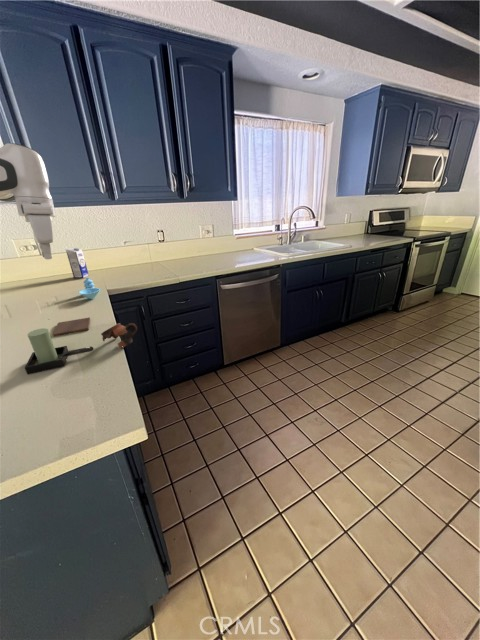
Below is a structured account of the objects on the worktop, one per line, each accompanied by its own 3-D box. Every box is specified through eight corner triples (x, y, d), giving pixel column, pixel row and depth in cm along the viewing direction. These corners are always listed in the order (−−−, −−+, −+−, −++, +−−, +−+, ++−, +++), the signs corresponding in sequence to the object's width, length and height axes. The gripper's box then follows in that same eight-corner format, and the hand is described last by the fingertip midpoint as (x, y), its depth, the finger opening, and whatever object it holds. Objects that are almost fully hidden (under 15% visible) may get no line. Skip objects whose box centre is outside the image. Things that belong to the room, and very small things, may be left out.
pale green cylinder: (38, 368, 82) (25, 337, 77) (41, 360, 86) (29, 330, 82) (57, 364, 84) (46, 333, 79) (60, 356, 88) (49, 327, 83)
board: (53, 336, 102) (52, 334, 101) (58, 324, 112) (58, 322, 111) (88, 330, 106) (87, 328, 106) (90, 319, 116) (89, 317, 116)
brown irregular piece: (113, 354, 90) (99, 333, 88) (111, 354, 98) (97, 335, 96) (144, 334, 95) (131, 315, 94) (139, 336, 103) (127, 318, 102)
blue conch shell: (102, 299, 140) (98, 283, 136) (80, 303, 135) (75, 286, 132) (101, 290, 154) (97, 275, 150) (81, 293, 150) (76, 278, 146)
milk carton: (80, 276, 187) (71, 247, 179) (89, 275, 187) (81, 247, 179) (73, 278, 181) (65, 249, 173) (83, 278, 181) (75, 248, 172)
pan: (27, 374, 79) (24, 367, 78) (35, 358, 87) (32, 352, 86) (94, 359, 86) (92, 353, 85) (95, 346, 94) (93, 340, 93)
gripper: (23, 212, 83) (33, 257, 87) (22, 205, 68) (35, 260, 72) (47, 213, 87) (56, 256, 91) (52, 207, 71) (62, 259, 75)
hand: (47, 258), depth 81 cm, fingers open, 8 cm apart
